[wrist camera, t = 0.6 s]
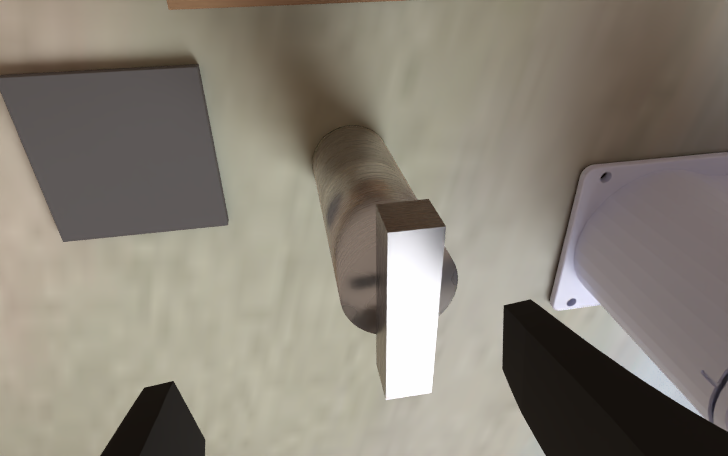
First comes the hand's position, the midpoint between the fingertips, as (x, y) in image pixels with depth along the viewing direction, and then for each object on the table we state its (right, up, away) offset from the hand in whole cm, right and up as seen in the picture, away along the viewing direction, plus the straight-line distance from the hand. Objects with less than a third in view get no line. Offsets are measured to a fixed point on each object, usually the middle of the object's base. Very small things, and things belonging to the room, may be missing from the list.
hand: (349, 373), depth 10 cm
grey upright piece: (0, +6, +8) cm, 10 cm away
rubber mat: (-8, +6, +6) cm, 12 cm away
